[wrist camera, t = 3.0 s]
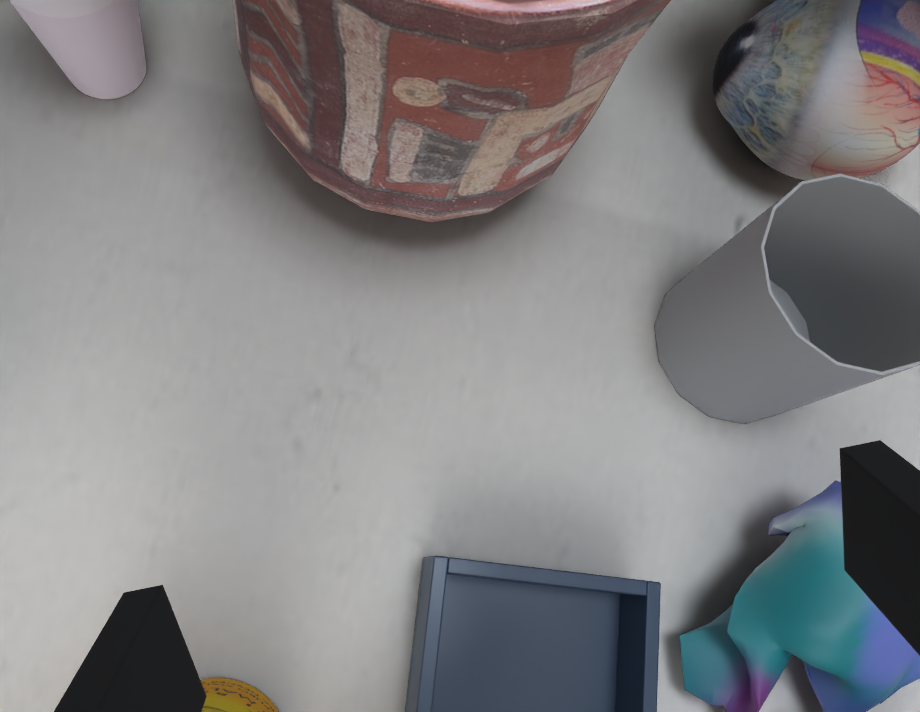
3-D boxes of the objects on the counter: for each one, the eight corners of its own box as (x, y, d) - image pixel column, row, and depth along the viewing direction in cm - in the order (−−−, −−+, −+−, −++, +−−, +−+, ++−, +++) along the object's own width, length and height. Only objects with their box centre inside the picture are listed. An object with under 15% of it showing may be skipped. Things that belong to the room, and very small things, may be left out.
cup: (782, 450, 38) (933, 409, 29) (634, 383, 38) (738, 319, 29) (821, 306, 41) (970, 226, 32) (683, 242, 41) (792, 141, 31)
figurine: (741, 704, 40) (701, 800, 32) (693, 481, 41) (643, 522, 33) (1047, 715, 33) (1088, 838, 26) (985, 448, 34) (1008, 491, 26)
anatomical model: (744, 45, 47) (789, -108, 38) (955, 117, 43) (1062, -32, 34) (671, 166, 44) (701, 33, 35) (889, 254, 41) (986, 131, 31)
